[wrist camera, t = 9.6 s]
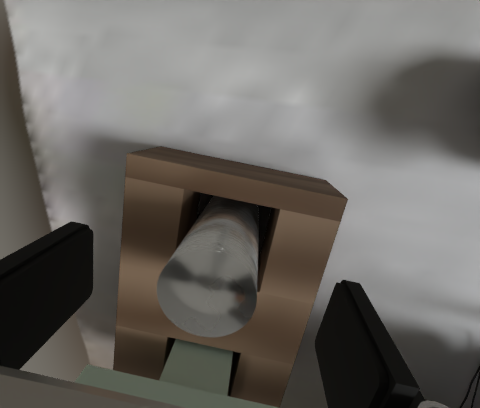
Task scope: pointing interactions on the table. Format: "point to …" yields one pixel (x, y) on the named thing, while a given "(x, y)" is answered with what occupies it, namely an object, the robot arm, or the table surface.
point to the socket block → (269, 263)
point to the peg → (214, 271)
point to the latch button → (178, 379)
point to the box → (470, 387)
